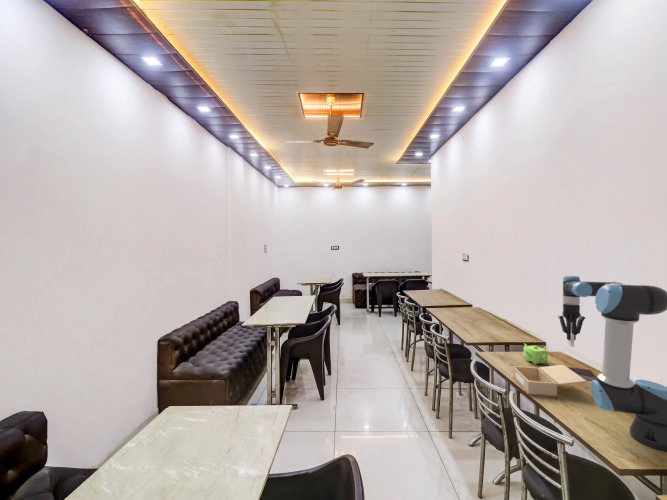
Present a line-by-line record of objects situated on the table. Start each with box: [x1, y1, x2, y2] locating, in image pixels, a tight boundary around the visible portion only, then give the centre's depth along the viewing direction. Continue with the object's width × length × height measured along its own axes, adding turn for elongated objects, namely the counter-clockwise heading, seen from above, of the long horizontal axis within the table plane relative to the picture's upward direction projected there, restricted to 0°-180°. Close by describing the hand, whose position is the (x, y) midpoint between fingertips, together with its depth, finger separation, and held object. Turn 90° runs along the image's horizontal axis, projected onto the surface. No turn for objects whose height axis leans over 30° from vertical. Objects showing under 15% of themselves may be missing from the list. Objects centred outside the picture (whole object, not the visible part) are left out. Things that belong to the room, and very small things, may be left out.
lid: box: [538, 364, 588, 386], centre depth 179 cm, size 23×13×1 cm, turn 170°
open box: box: [512, 365, 558, 397], centre depth 181 cm, size 22×14×7 cm, turn 170°
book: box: [552, 365, 597, 381], centre depth 197 cm, size 12×19×3 cm, turn 65°
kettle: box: [523, 343, 549, 365], centre depth 218 cm, size 15×14×11 cm
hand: (571, 345), depth 177 cm, fingers closed
